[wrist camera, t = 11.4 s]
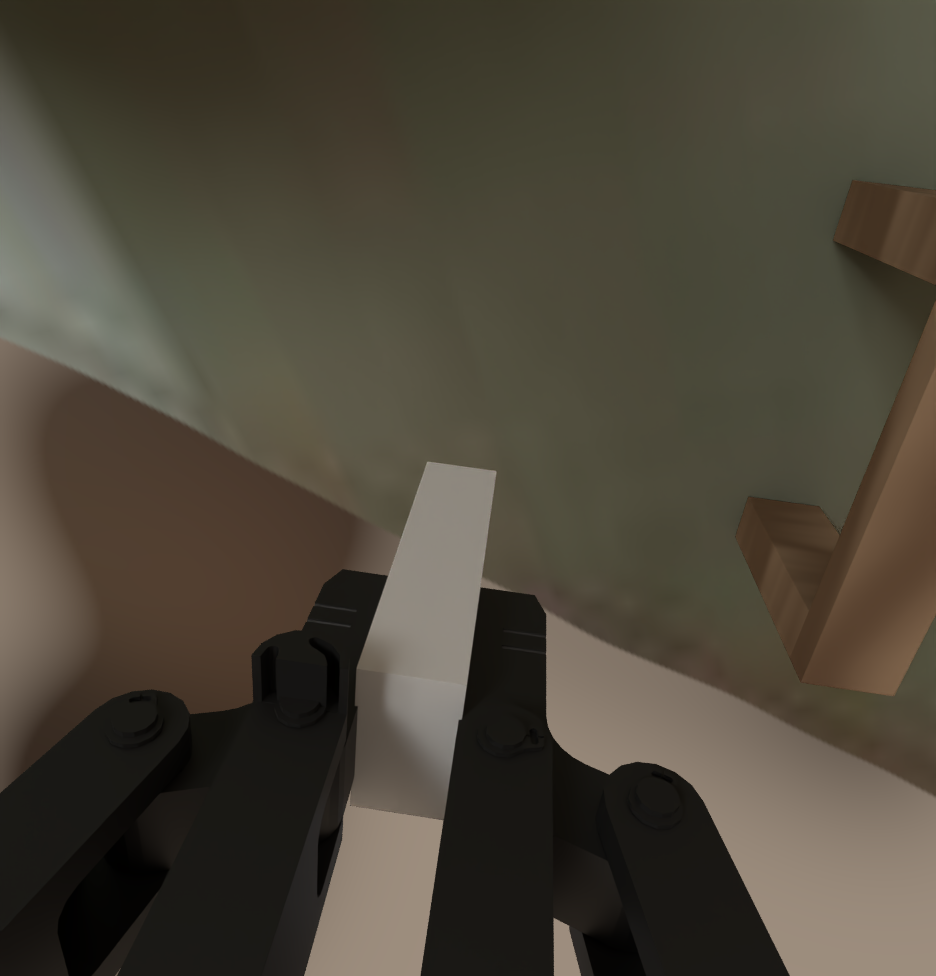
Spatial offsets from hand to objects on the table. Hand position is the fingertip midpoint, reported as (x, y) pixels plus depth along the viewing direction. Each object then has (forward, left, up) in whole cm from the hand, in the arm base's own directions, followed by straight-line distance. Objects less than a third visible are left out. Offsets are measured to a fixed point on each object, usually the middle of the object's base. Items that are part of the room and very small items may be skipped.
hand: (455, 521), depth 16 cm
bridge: (+13, 0, -14) cm, 19 cm away
